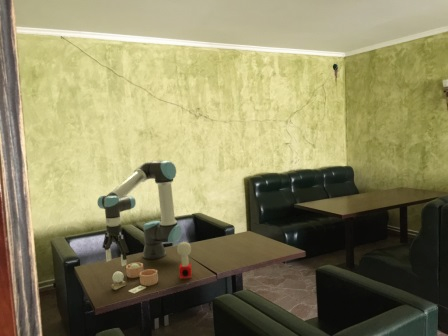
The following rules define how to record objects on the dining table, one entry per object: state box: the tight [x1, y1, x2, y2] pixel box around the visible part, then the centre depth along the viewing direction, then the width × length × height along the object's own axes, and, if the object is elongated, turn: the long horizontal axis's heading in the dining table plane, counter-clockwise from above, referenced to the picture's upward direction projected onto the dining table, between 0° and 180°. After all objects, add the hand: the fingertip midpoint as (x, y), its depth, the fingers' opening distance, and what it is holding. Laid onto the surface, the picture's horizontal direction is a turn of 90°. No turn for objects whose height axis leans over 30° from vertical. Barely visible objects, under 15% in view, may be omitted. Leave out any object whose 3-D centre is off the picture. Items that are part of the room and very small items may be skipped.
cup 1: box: [125, 262, 145, 279], centre depth 218 cm, size 9×9×6 cm
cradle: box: [111, 280, 127, 290], centre depth 202 cm, size 3×7×3 cm, turn 142°
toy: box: [176, 241, 193, 279], centre depth 211 cm, size 8×8×20 cm
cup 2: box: [139, 268, 159, 287], centre depth 205 cm, size 9×9×6 cm
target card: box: [128, 284, 147, 294], centre depth 197 cm, size 5×8×1 cm, turn 142°
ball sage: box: [130, 264, 140, 268], centre depth 218 cm, size 6×6×6 cm
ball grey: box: [112, 270, 125, 283], centre depth 201 cm, size 6×6×6 cm
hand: (116, 263), depth 200 cm, fingers open, 13 cm apart
